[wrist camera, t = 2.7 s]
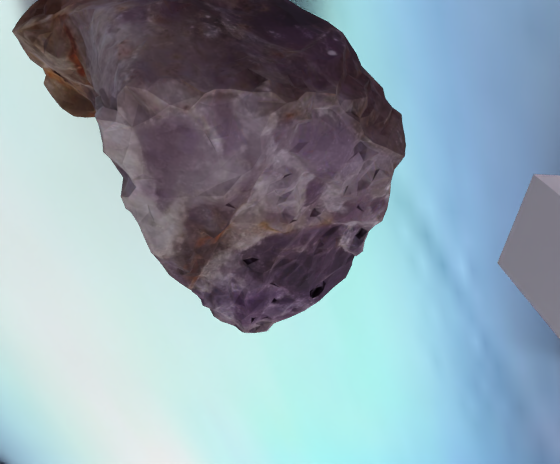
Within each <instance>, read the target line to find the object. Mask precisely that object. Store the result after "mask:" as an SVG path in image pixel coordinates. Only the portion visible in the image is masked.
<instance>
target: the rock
mask: <svg viewBox="0 0 560 464" xmlns="http://www.w3.org/2000/svg"><path fill="white" fill-rule="evenodd" d="M12 32H13V33H14V35H15V36H16V37H17V39H18V40H19V42H20V44H21V46H22V48H23V49H24V51H25V52H26V54H27V55H28V56H29V58H30V59H31V60H32V61H33V62H35V63H36V64H37V65H39V66H40V67H41V68H43V70H44V72H45V74H46V77H45V81H44V85H45V87H46V88H47V90H48V91H49V93H50V94H51V96H52V97H53V98H54V99H55V101H56V102H57V103H58V104H59V106H60V107H61V108H63V109H64V110H65V111H67V112H68V113H70V114H71V115H73V116H76V117H96V120H97V122H98V124H99V128H100V133H101V137H102V142H103V152H104V153H105V154H106V155H107V156H108V157H109V158H110V159H111V160H112V162H113V163H114V165H115V166H116V168H117V169H118V171H119V172H120V173H121V175H122V176H123V184H122V192H121V198H122V200H123V203H124V205H125V208H126V209H127V210H129V211H130V212H131V213H132V215H133V216H134V218H135V219H136V221H137V222H138V224H139V226H140V229H141V231H142V233H143V236H144V238H145V240H146V242H147V245H148V247H149V249H150V251H151V253H152V254H153V255H154V256H155V257H156V258H157V259H158V260H159V262H160V263H161V264H162V265H163V267H164V268H165V269H166V271H167V272H168V274H169V275H170V276H171V277H173V278H174V279H175V280H177V281H178V282H180V283H181V284H182V285H184V286H185V287H187V288H188V289H190V290H192V292H193V293H195V294H196V295H197V296H198V297H199V298H200V299H201V302H202V305H203V306H205V307H208V308H210V310H211V312H212V314H213V316H214V317H216V318H217V319H219V320H220V321H222V322H225V323H228V324H231V325H233V326H236V327H237V328H238V329H239V330H240V331H242V332H244V333H257V332H265V331H267V330H268V329H269V328H270V327H271V326H272V325H273V324H274V323H276V322H278V321H281V320H284V319H286V318H289V317H292V316H294V315H296V314H298V313H300V312H302V311H304V310H306V309H307V308H309V307H311V306H312V305H314V304H315V303H317V302H318V301H320V300H321V299H322V298H323V297H324V296H325V295H326V294H327V293H328V292H329V291H330V290H331V289H332V288H333V287H335V286H336V285H337V284H338V283H340V282H341V281H342V280H343V279H344V278H346V276H347V274H348V272H349V270H350V268H351V266H352V261H353V258H354V256H357V255H358V254H360V253H361V252H362V251H363V247H364V242H365V239H366V237H367V234H368V232H369V231H370V230H371V229H372V228H373V226H375V225H377V224H378V223H380V222H381V221H382V220H383V217H384V215H385V212H386V210H387V207H388V201H389V196H390V188H391V180H392V176H393V172H394V169H395V168H396V167H397V165H398V164H399V163H400V162H401V160H402V159H403V158H404V157H405V147H406V143H405V135H404V130H403V125H402V115H401V113H399V112H398V111H397V110H395V109H394V108H392V107H391V105H390V104H389V103H388V101H387V100H386V99H385V95H384V91H383V88H382V87H381V86H380V85H379V84H378V83H377V82H376V81H375V80H374V78H373V77H372V76H371V75H370V74H369V73H368V72H367V71H366V70H365V69H364V68H363V67H362V66H361V64H360V61H359V59H358V57H357V54H356V52H355V51H354V49H353V48H352V46H351V45H350V43H349V42H348V40H347V39H346V37H345V36H344V34H343V33H342V32H341V31H340V30H338V29H337V28H336V27H334V26H333V25H331V24H330V23H329V22H327V21H325V20H323V19H321V18H319V17H317V16H315V15H313V14H311V13H309V12H307V11H305V10H303V9H301V8H300V7H298V6H297V5H295V4H294V3H292V2H291V1H289V0H38V1H37V2H35V3H34V4H33V5H32V6H31V7H30V8H29V9H28V10H27V11H26V12H25V13H24V15H23V16H22V17H21V18H20V19H19V21H18V22H17V24H16V26H15V27H14V29H13V30H12Z"/></svg>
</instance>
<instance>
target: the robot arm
mask: <svg viewBox="0 0 560 464" xmlns="http://www.w3.org/2000/svg"><path fill="white" fill-rule="evenodd" d="M498 264H499V266H500V267H501V268H502V269H503V271H504V272H505V273H506V274H507V275H508V277H509V278H510V279H511V280H512V282H513V283H514V284H515V285H516V286H517V288H518V289H519V290H520V291H521V293H522V294H523V295H524V296H525V297H526V299H527V300H528V301H529V302H530V303H531V305H532V306H533V307H534V308H535V310H536V311H537V312H538V313H539V314H540V316H541V317H542V318H543V319H544V321H545V322H546V323H547V324H548V325H549V327H550V328H551V329H552V330H553V332H554V333H555V334H556V335H557V336H558V338H559V339H560V176H558V175H539V174H534V175H533V177H532V180H531V182H530V184H529V187H528V189H527V192H526V194H525V197H524V199H523V202H522V204H521V207H520V209H519V211H518V214H517V216H516V219H515V221H514V224H513V226H512V229H511V231H510V234H509V236H508V238H507V241H506V243H505V246H504V248H503V251H502V253H501V256H500V258H499V260H498Z"/></svg>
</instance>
